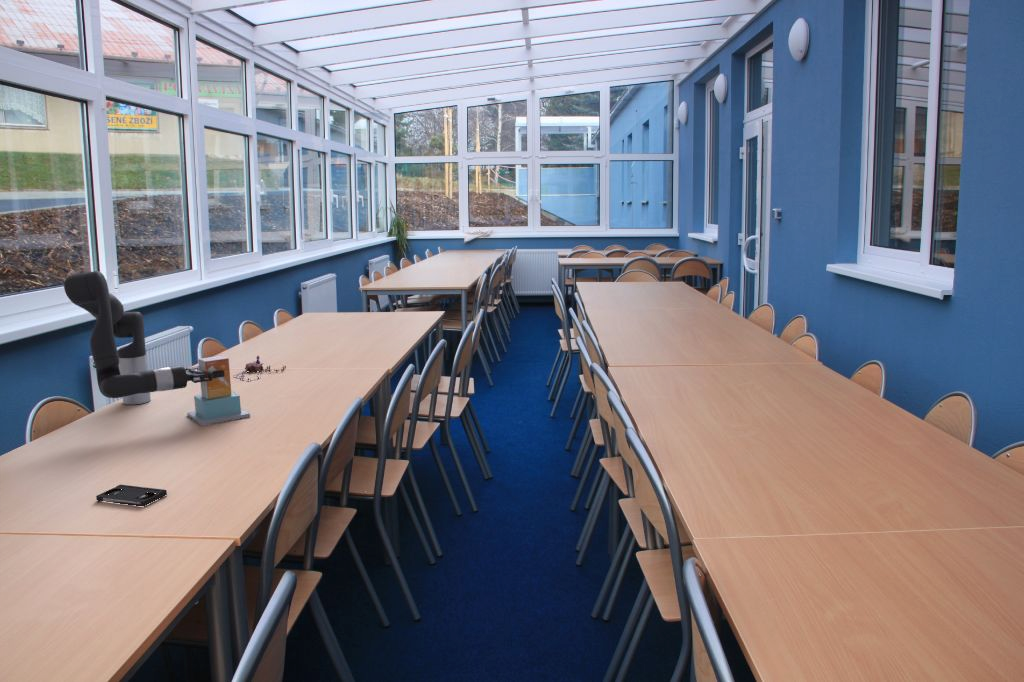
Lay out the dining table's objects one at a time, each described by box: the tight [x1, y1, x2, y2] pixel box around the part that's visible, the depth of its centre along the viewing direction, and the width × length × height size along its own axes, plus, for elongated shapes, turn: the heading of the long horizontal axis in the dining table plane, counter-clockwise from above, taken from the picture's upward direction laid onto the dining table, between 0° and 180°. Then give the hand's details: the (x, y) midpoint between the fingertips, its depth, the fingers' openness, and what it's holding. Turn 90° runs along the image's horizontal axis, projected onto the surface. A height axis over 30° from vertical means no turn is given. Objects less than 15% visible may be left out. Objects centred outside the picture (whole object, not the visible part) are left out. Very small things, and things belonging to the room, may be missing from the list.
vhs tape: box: [95, 484, 168, 506], centre depth 188 cm, size 14×8×2 cm, turn 73°
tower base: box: [186, 390, 251, 427], centre depth 258 cm, size 16×16×7 cm
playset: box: [233, 355, 287, 381], centre depth 321 cm, size 25×19×7 cm
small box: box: [197, 355, 232, 399], centre depth 256 cm, size 8×6×13 cm
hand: (219, 371), depth 257 cm, fingers open, 8 cm apart
